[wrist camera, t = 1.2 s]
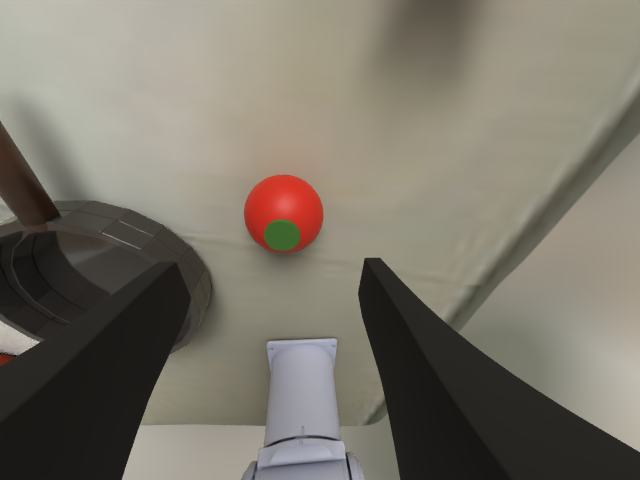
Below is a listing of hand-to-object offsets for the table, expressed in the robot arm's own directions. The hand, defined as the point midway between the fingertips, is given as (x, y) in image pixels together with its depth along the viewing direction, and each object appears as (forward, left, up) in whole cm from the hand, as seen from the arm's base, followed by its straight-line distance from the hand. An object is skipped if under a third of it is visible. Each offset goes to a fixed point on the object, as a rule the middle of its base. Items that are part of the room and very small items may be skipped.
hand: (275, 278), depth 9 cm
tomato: (-1, 0, -9) cm, 9 cm away
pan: (-8, +14, -9) cm, 18 cm away
